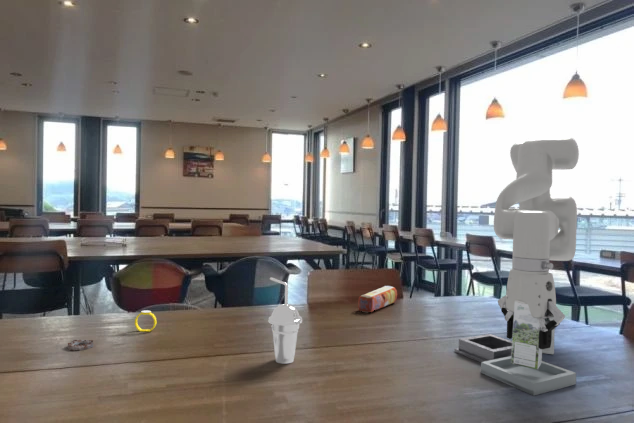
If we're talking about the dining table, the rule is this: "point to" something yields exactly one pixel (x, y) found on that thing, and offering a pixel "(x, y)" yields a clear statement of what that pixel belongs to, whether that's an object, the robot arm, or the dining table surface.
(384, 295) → the snack package
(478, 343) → the socket
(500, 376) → the tray
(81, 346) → the donut
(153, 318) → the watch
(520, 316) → the syrup box
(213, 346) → the dining table surface
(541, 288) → the robot arm
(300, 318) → the cup with straw
